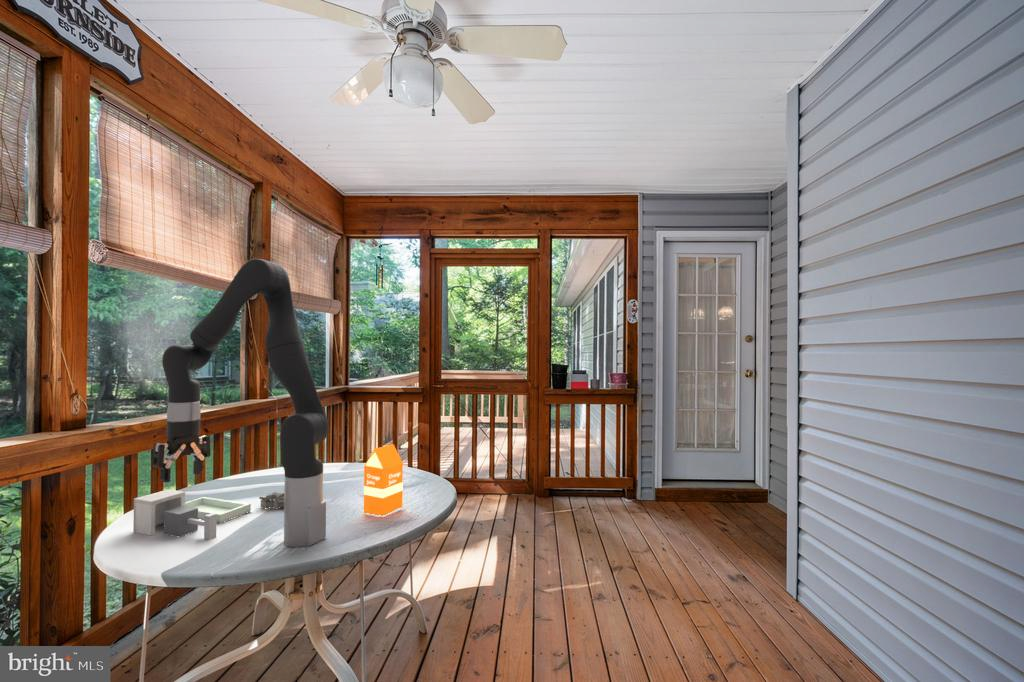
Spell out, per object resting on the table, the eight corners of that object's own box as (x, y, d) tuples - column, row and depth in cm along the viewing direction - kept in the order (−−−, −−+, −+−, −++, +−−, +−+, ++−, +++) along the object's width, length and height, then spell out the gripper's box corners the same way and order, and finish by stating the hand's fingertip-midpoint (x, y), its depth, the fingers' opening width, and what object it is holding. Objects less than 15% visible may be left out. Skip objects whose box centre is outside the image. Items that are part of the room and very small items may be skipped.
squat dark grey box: (221, 534, 126) (221, 512, 126) (203, 541, 121) (203, 518, 121) (182, 527, 131) (182, 505, 131) (163, 534, 126) (164, 511, 126)
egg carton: (257, 510, 145) (257, 497, 145) (269, 502, 153) (269, 489, 153) (291, 510, 146) (291, 496, 146) (302, 502, 153) (302, 489, 153)
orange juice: (363, 514, 141) (363, 447, 141) (384, 505, 149) (384, 442, 149) (382, 518, 138) (383, 450, 138) (403, 509, 145) (403, 445, 146)
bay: (184, 523, 133) (184, 491, 134) (150, 535, 125) (151, 501, 125) (167, 520, 136) (167, 489, 136) (133, 532, 127) (133, 498, 127)
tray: (250, 512, 143) (250, 503, 143) (220, 523, 134) (220, 514, 134) (203, 504, 150) (203, 496, 150) (171, 515, 140) (171, 506, 140)
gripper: (166, 423, 120) (164, 486, 119) (218, 415, 133) (216, 473, 133) (146, 420, 122) (144, 483, 122) (199, 413, 136) (197, 470, 135)
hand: (182, 477), depth 127 cm, fingers open, 8 cm apart
